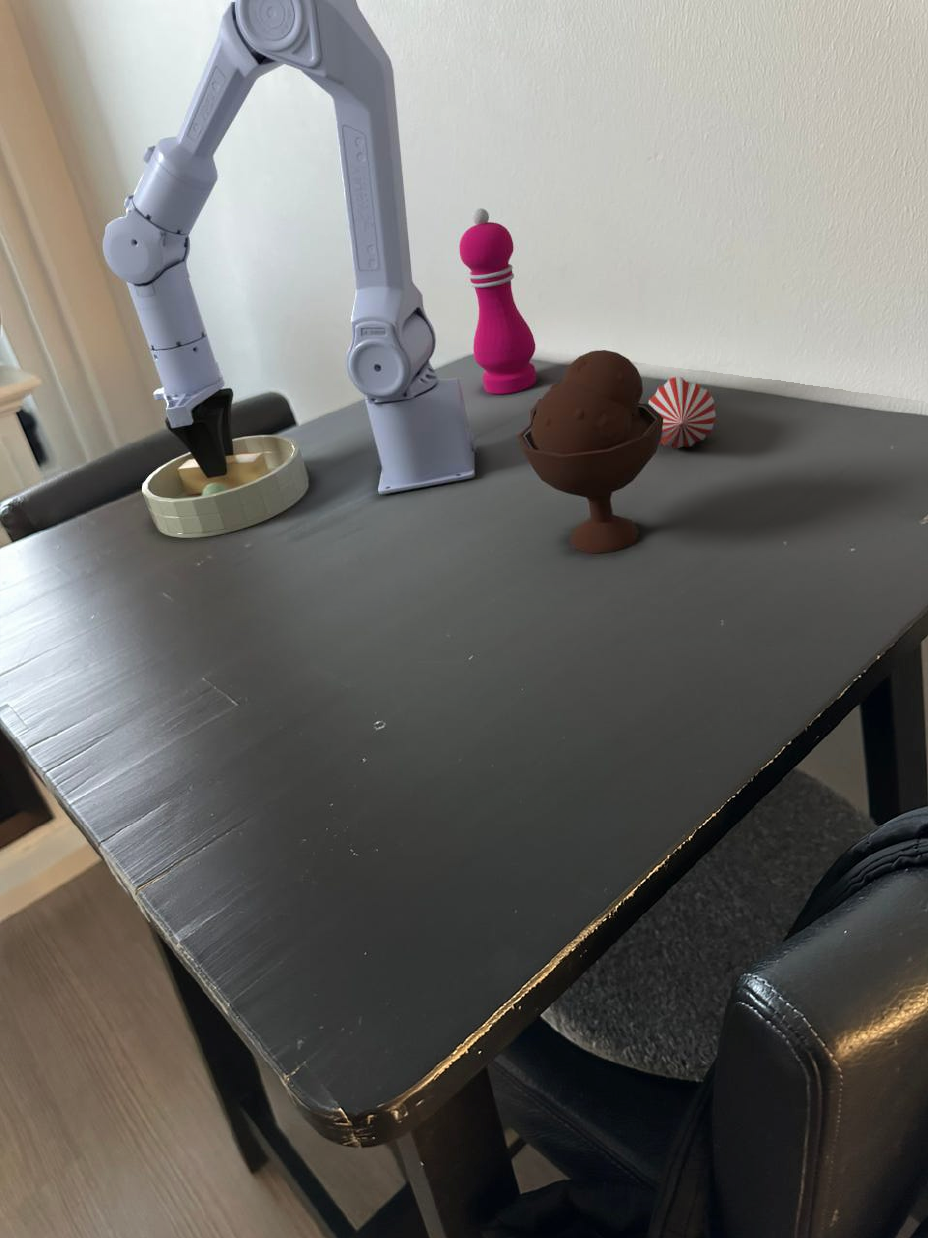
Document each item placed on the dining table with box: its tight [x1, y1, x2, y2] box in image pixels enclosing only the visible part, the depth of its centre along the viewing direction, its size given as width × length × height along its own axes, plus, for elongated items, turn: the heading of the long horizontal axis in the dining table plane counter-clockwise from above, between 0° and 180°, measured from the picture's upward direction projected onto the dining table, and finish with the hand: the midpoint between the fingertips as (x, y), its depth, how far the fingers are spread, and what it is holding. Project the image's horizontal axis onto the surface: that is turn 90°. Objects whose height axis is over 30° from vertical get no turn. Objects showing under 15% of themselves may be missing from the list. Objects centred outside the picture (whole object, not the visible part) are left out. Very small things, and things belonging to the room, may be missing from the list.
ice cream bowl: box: [517, 349, 663, 554], centre depth 79 cm, size 11×11×15 cm
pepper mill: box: [458, 208, 538, 395], centre depth 116 cm, size 7×7×20 cm
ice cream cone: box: [648, 376, 717, 449], centre depth 97 cm, size 6×6×20 cm
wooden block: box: [178, 453, 269, 494], centre depth 107 cm, size 9×2×3 cm, turn 75°
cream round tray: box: [141, 434, 310, 539], centre depth 105 cm, size 16×16×4 cm
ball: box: [202, 483, 228, 496], centre depth 103 cm, size 3×3×3 cm
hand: (220, 468), depth 107 cm, fingers closed on wooden block, 3 cm apart
